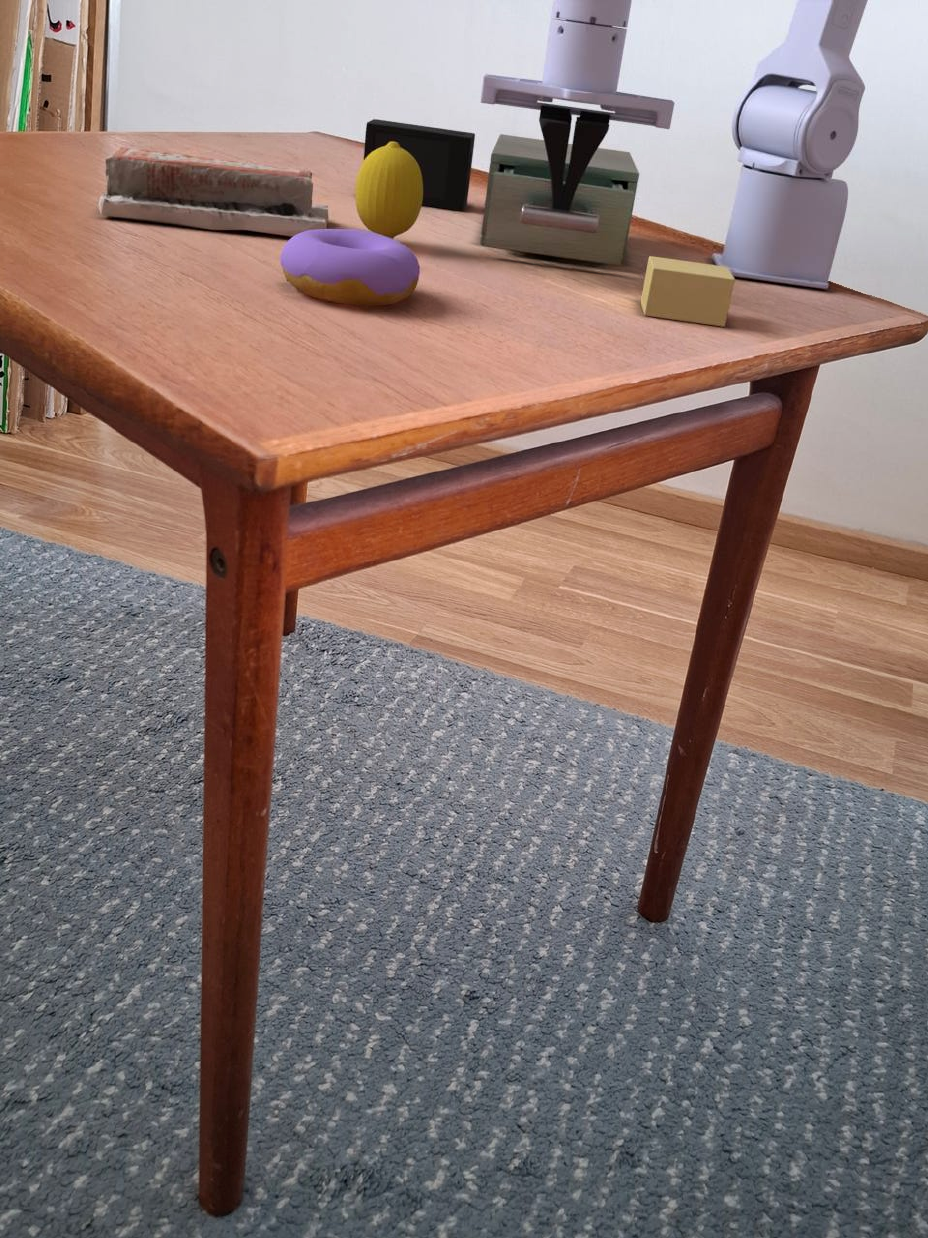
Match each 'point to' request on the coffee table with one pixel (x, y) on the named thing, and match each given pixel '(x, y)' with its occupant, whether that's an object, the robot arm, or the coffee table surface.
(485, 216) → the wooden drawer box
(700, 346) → the coffee table surface
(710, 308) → the block
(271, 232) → the weathered stone block
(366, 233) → the donut
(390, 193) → the lemon
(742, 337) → the coffee table surface
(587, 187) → the drawer
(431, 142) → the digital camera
